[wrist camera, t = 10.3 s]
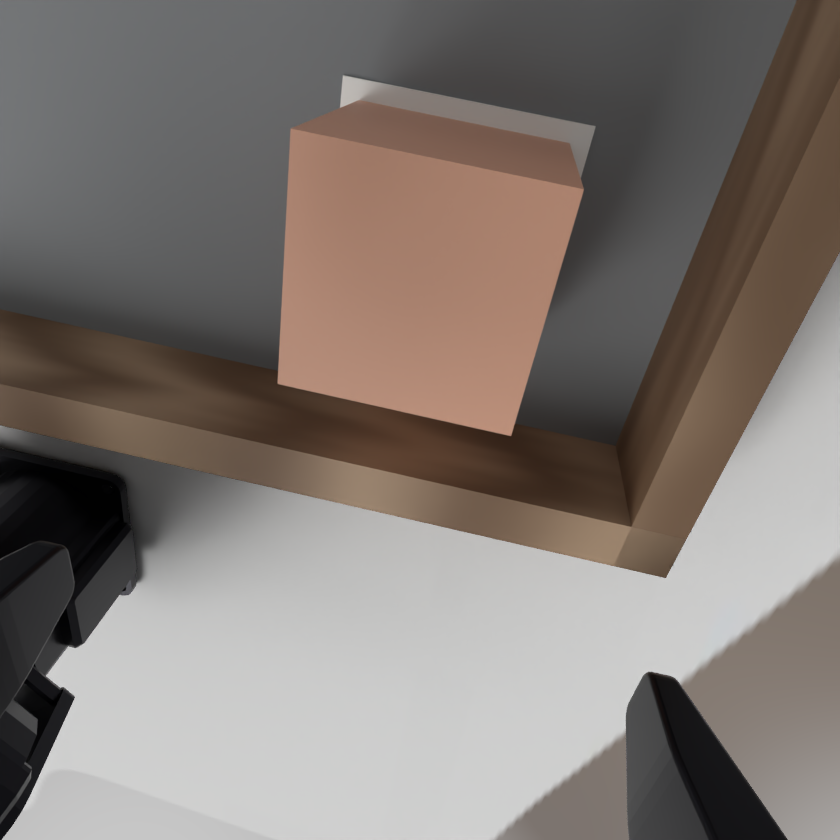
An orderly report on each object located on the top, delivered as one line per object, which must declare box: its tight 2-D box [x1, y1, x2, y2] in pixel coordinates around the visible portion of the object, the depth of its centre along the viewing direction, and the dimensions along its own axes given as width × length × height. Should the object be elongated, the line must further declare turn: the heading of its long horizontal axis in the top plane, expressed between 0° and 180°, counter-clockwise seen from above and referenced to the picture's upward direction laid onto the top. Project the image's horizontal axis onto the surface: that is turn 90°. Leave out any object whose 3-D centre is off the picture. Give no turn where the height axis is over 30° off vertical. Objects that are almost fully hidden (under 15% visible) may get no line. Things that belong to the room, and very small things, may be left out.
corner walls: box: [0, 0, 840, 578], centre depth 15 cm, size 24×20×4 cm
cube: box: [278, 100, 584, 436], centre depth 15 cm, size 6×6×6 cm
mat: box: [0, 0, 797, 446], centre depth 17 cm, size 24×20×1 cm
